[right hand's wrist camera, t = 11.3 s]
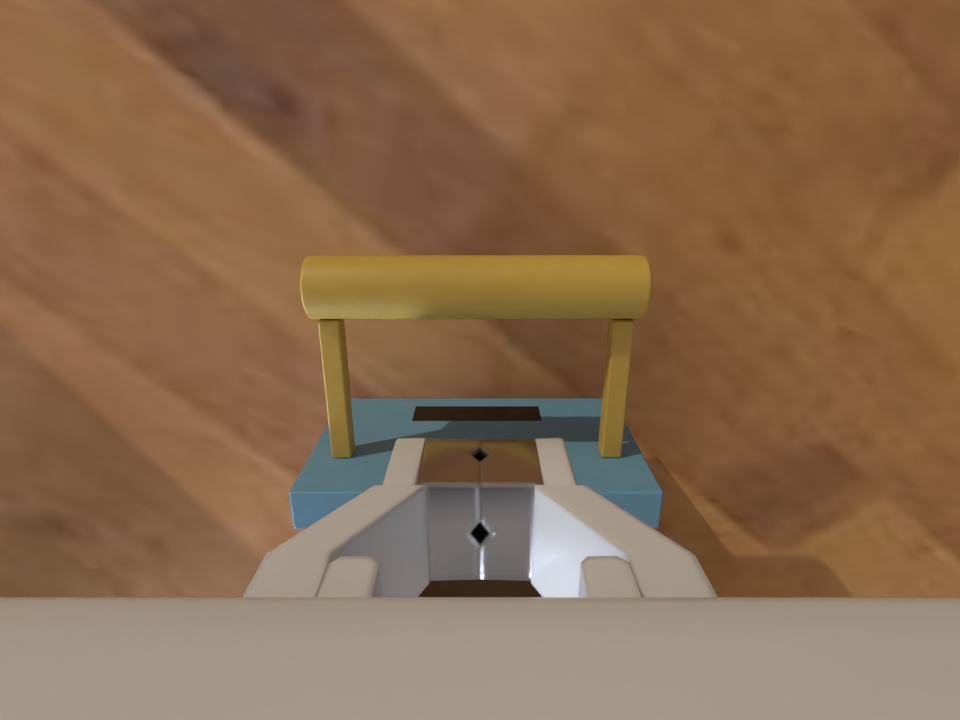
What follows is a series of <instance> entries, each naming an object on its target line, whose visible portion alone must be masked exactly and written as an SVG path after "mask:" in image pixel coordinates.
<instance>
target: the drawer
mask: <svg viewBox="0 0 960 720" xmlns="http://www.w3.org/2000/svg"><path fill="white" fill-rule="evenodd" d="M651 291H652V276H651V269H650V265H649V261H648V259H647V258H646V257H645V256H643V255H310V256H307V257H306V258H305V259H304V262H303V264H302V269H301V275H300V292H301V299H302V304H303V307H304V310H305V313H306V314H307V316H308V317H309V318H312V319H320V320H319V321H318V329H319V338H320V348H321V357H322V367H323V376H324V386H325V395H326V405H327V414H328V425H327V427H326V428H325V430H324V432H323V434H322V435H321V437H320V439H319V441H318V442H317V444H316V446H315V448H314V450H313V451H312V453H311V455H310V457H309V458H308V460H307V462H306V464H305V465H304V467H303V469H302V471H301V472H300V474H299V476H298V478H297V479H296V481H295V483H294V485H293V487H292V488H291V490H290V492H289V497H290V504H291V511H292V518H293V525H294V528H296V529H306V528H308V527H309V526H311V525H312V524H314V523H315V522H317V521H319V520H320V519H322V518H323V517H325V516H327V515H328V514H330V513H331V512H333V511H334V510H336V509H338V508H339V507H341V506H342V505H344V504H345V503H347V502H349V501H350V500H352V499H353V498H355V497H357V496H358V495H360V494H361V493H363V492H364V491H366V490H368V489H369V488H371V487H372V486H374V485H383V482H384V478H385V475H386V472H387V468H388V465H389V462H390V458H391V455H392V452H393V448H394V445H395V442H396V440H397V439H399V438H425V439H427V438H435V439H517V438H534V439H541V438H562V439H564V442H565V446H566V449H567V452H568V455H569V459H570V462H571V465H572V469H573V472H574V475H575V478H576V482H577V485H586V486H588V487H589V488H591V489H592V490H594V491H596V492H597V493H599V494H600V495H602V496H603V497H605V498H607V499H608V500H610V501H611V502H613V503H614V504H616V505H618V506H619V507H621V508H622V509H624V510H625V511H627V512H629V513H630V514H632V515H633V516H635V517H636V518H638V519H640V520H641V521H643V522H644V523H646V524H647V525H649V526H651V527H652V528H658V527H659V522H660V515H661V507H662V500H663V491H662V489H661V487H660V485H659V484H658V482H657V480H656V478H655V476H654V474H653V473H652V471H651V469H650V467H649V465H648V464H647V462H646V460H645V458H644V456H643V454H642V453H641V451H640V449H639V447H638V445H637V444H636V442H635V440H634V438H633V436H632V434H631V433H630V431H629V429H628V427H627V425H626V424H625V412H626V402H627V392H628V382H629V373H630V363H631V353H632V343H633V333H634V320H633V319H640V318H643V317H644V316H645V315H646V313H647V310H648V307H649V304H650V299H651ZM344 319H609V322H608V334H607V345H606V357H605V369H604V381H603V393H602V398H361V399H351V394H350V383H349V372H348V360H347V349H346V338H345V326H344ZM418 597H542V596H541V595H540V594H539V592H538V591H537V590H536V589H535V587H534V586H533V585H532V584H531V581H518V580H481V579H477V580H441V581H429V584H428V586H427V587H426V588H425V589H424V590H423V592H422V593H421V594H420V595H419V596H418Z"/></svg>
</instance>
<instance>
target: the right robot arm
mask: <svg viewBox="0 0 960 720" xmlns="http://www.w3.org/2000/svg"><path fill="white" fill-rule="evenodd" d="M477 579H481V580H518V581H531V584H532V585H533V586H534V587H535V589H536V590H537V591H538V592H539V594H540V595H541V596H542V597H418V596H419V595H420V594H421V593H422V592H423V590H424V589H425V588H426V587H427V586H428V584H429V581H441V580H477ZM0 720H960V597H717V595H716V593H715V591H714V589H713V587H712V585H711V584H710V582H709V580H708V578H707V576H706V574H705V572H704V571H703V569H702V567H701V565H700V563H699V561H698V560H697V558H696V556H695V554H693V553H691V552H690V551H688V550H687V549H685V548H684V547H682V546H680V545H679V544H677V543H676V542H674V541H673V540H671V539H669V538H668V537H666V536H665V535H663V534H662V533H660V532H658V531H657V530H655V529H654V528H652V527H651V526H649V525H647V524H646V523H644V522H643V521H641V520H640V519H638V518H636V517H635V516H633V515H632V514H630V513H629V512H627V511H625V510H624V509H622V508H621V507H619V506H618V505H616V504H614V503H613V502H611V501H610V500H608V499H607V498H605V497H603V496H602V495H600V494H599V493H597V492H596V491H594V490H592V489H591V488H589V487H588V486H586V485H577V482H576V478H575V475H574V472H573V469H572V465H571V462H570V459H569V455H568V452H567V449H566V446H565V442H564V439H562V438H541V439H534V438H517V439H435V438H427V439H425V438H399V439H397V440H396V442H395V445H394V448H393V452H392V455H391V458H390V462H389V465H388V468H387V472H386V475H385V478H384V482H383V485H374V486H372V487H371V488H369V489H368V490H366V491H364V492H363V493H361V494H360V495H358V496H357V497H355V498H353V499H352V500H350V501H349V502H347V503H345V504H344V505H342V506H341V507H339V508H338V509H336V510H334V511H333V512H331V513H330V514H328V515H327V516H325V517H323V518H322V519H320V520H319V521H317V522H315V523H314V524H312V525H311V526H309V527H308V528H306V529H304V530H303V531H301V532H300V533H298V534H297V535H295V536H293V537H292V538H290V539H289V540H287V541H285V542H284V543H282V544H281V545H279V546H278V547H276V548H274V549H273V550H271V551H270V552H268V553H266V555H265V556H264V558H263V560H262V562H261V564H260V566H259V567H258V569H257V571H256V573H255V575H254V577H253V578H252V580H251V582H250V584H249V586H248V587H247V589H246V591H245V593H244V595H243V597H0Z"/></svg>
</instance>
